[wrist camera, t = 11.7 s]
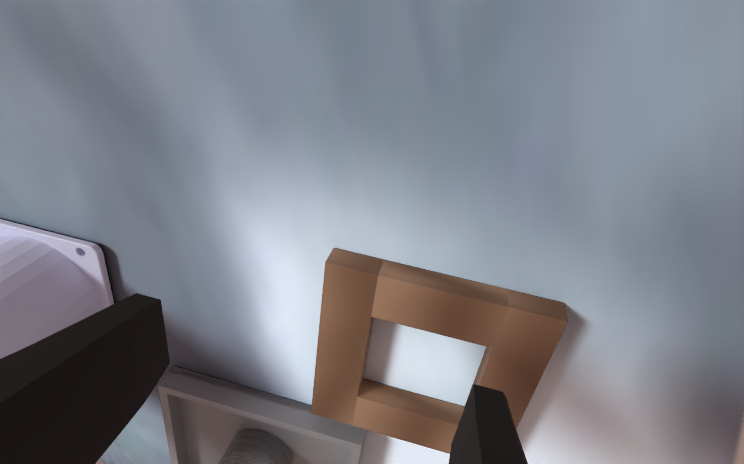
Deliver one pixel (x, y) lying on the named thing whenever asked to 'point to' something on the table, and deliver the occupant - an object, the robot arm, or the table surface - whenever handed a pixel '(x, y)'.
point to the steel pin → (256, 449)
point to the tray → (246, 422)
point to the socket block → (433, 314)
